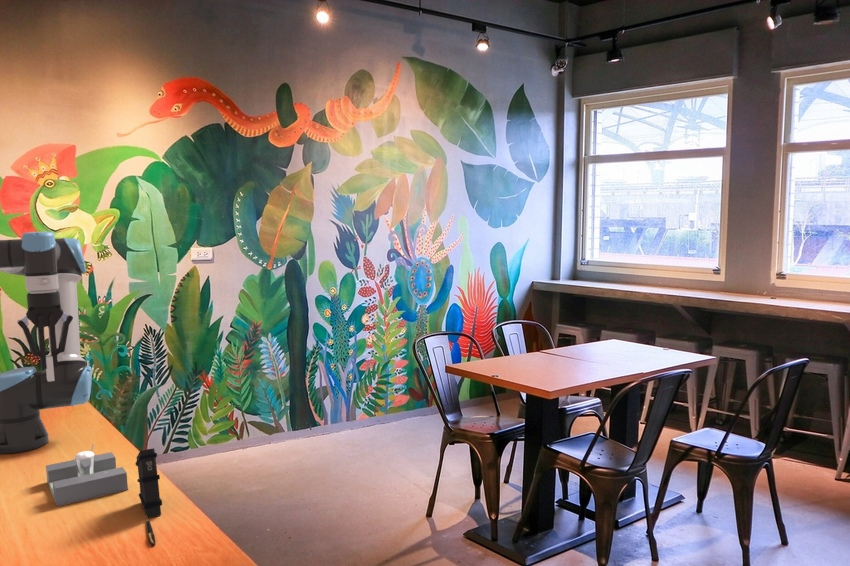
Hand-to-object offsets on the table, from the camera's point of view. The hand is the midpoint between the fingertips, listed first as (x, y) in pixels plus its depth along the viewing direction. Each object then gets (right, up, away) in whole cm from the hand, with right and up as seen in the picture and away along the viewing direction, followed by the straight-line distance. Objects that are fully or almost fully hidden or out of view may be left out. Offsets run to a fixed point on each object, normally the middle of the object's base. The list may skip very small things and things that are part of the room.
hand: (50, 380), depth 184 cm
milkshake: (+12, -27, -4) cm, 30 cm away
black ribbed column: (+33, -28, -18) cm, 47 cm away
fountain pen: (+39, -29, -32) cm, 58 cm away
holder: (+12, -27, -4) cm, 29 cm away
